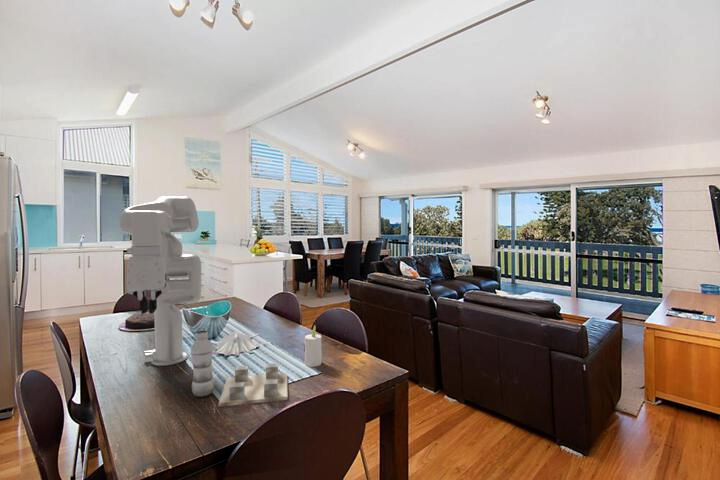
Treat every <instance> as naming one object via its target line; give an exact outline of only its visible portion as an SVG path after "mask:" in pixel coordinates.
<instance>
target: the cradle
mask: <svg viewBox="0 0 720 480" xmlns="http://www.w3.org/2000/svg"><path fill="white" fill-rule="evenodd" d="M287 373H288V372H279V363H267V364H265V374H256V375H255V374H254V375H249V365H241V366H239V365H238V366H235V369H234V376H231V377H230V376H229V377H227V378H226V380H225V383H224V386H223V389H222V392H221V395H220V398H219V400H218V403H217V405H218V406H217V407H218V408H219V407H229V406H238V405H249V404H259V403H269V402H270V403H271V402H279V401H281V402H282V401H288V400H289V399H288V374H287Z"/></svg>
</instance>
